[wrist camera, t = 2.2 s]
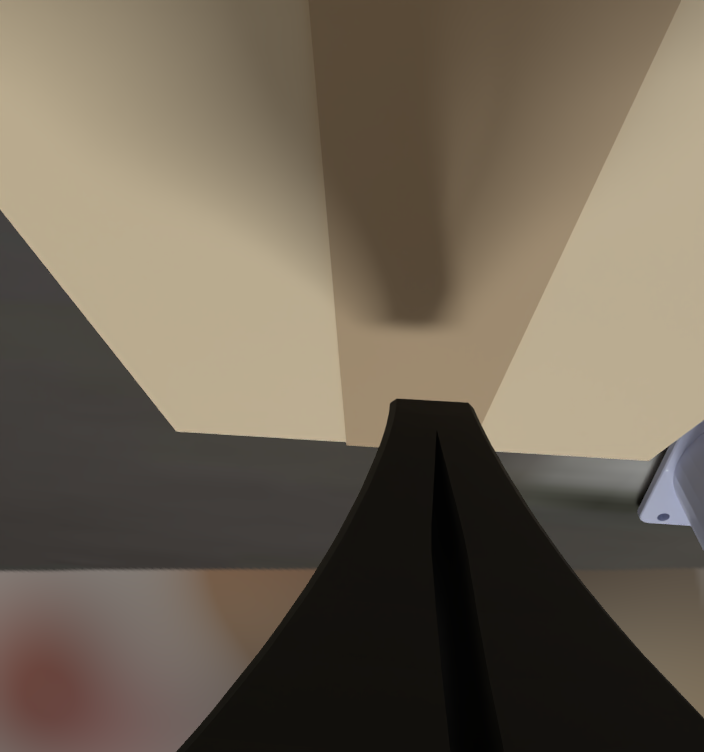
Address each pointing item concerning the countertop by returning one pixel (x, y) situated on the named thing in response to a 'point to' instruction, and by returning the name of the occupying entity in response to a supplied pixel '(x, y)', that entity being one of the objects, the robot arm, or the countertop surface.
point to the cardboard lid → (374, 208)
